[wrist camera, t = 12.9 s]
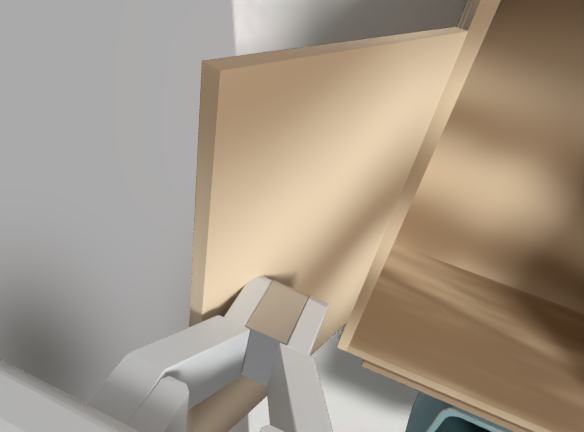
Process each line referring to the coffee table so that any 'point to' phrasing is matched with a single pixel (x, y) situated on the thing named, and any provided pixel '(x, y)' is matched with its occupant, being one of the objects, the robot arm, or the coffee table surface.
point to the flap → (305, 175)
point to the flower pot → (446, 418)
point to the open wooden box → (491, 230)
